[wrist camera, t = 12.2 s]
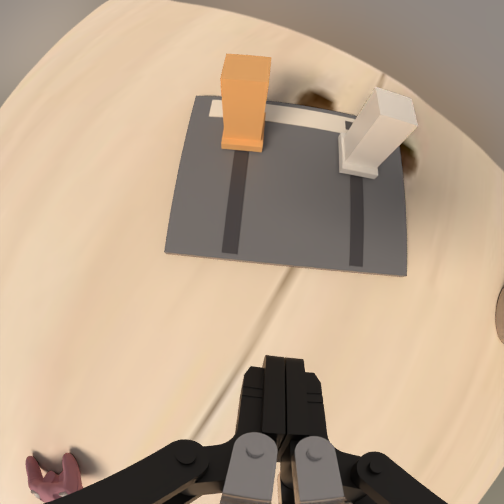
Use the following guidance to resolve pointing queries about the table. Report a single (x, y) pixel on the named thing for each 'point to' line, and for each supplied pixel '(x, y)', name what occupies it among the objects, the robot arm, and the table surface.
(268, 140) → the switch panel
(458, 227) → the table surface
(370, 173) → the white slide tab
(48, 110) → the table surface
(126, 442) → the table surface
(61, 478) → the video game controller
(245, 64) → the orange tab
